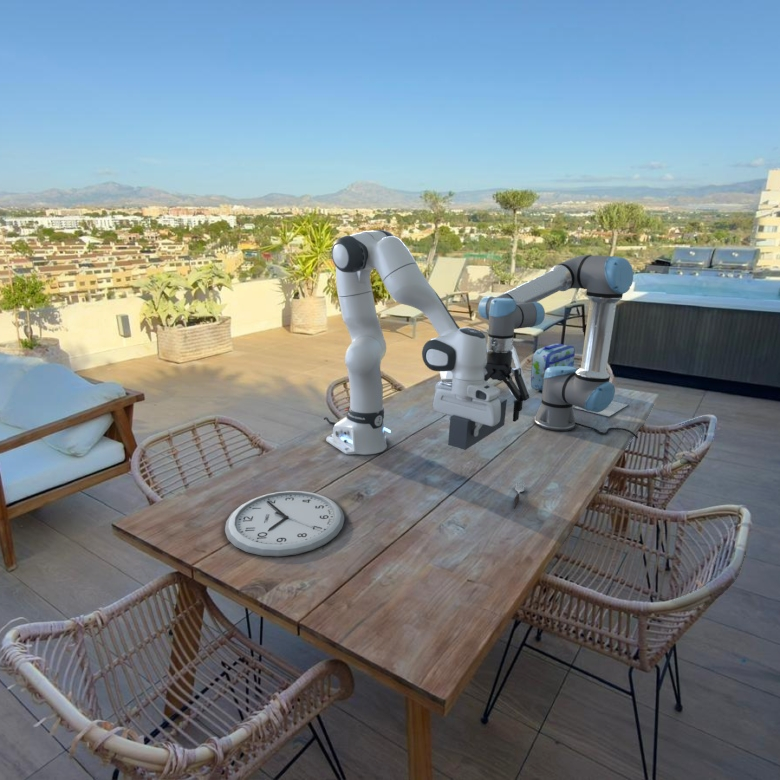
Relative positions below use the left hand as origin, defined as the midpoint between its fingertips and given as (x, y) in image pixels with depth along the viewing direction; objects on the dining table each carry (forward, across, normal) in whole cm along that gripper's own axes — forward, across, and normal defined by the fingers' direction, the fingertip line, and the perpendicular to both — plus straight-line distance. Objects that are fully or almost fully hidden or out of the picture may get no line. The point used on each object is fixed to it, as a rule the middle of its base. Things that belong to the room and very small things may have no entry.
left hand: (463, 432), depth 150 cm
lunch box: (+16, -15, +114) cm, 117 cm away
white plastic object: (+17, -38, +86) cm, 96 cm away
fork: (+16, +17, +4) cm, 24 cm away
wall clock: (+17, -25, -46) cm, 55 cm away
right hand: (0, 0, +20) cm, 20 cm away
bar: (+4, 0, +9) cm, 10 cm away
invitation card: (+16, +13, +101) cm, 103 cm away
